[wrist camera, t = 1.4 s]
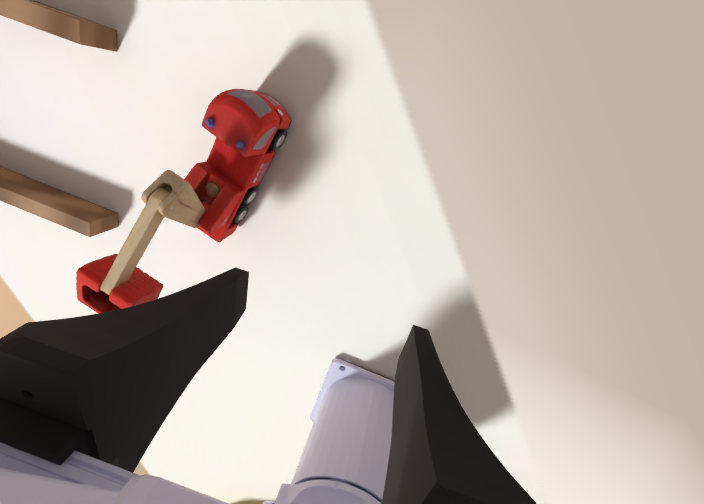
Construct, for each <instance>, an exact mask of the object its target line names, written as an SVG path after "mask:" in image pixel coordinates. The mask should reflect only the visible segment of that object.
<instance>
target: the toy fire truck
mask: <svg viewBox="0 0 704 504" xmlns="http://www.w3.org/2000/svg"><path fill="white" fill-rule="evenodd" d="M290 122H291V118H290V117H289V115H288V114H287V112H286V111H285V109H284V108H283V107H282V106H281V105H280V104H279V103H278V102H277V101H276V100H274V99H273V98H272V97H270V96H268V95H266V94H264V93H261V92H258V91H253V90H244V89H232V90H228V91H225V92H222V93H221V94H219V95H217V96H216V97H215V98H214V99H213V100H212V102H211V103H210V104H209V106H208V109H207V111H206V114H205V117H204V119H203V122H202V126H203V127H204V128H205V129H207V130H208V131H209V132H211V133H212V134H213V135H215V136H216V140H215V143H214V146H213V148H212V150H211V153H210V155H209V157H208V160H207V162H202V163H197V164H196V165H195V166H194V167H193V168H192V169H191V171H190V172H189V174H188V175H187V177H186V178H185V179H183V178H181V177H180V176H178V175H177V174H175V173H174V172H173V171H171V170H167V171H165V172H164V173H163V174H162V175H161V176H160V177H159V178H158V179H157V180H155V181H154V182H153V183H152V184H151V185H150V186H149V187H148V188H147V189H146V190H145V191H144V192H143V194H142V197H141V198H142V200H143V201H144V203H146V206H145V208H144V209H143V211H142V212H141V214H140V216H139V218H138V220H137V222H136V223H135V225H134V227H133V228H132V230H131V232H130V234H129V236H128V237H127V239H126V241H125V243H124V245H123V247H122V249H121V250H120V252H119V254H114V255H111V256H107V257H104V258H102V259H99V260H95V261H92V262H90V263H88V264H86V265H84V266H82V267H81V268H79V269H78V271H77V272H76V273H77V276H76V277H77V278H76V279H77V283H76V285H77V289H76V290H77V298H78V300H79V301H80V302H82V303H83V304H85V305H86V306H88V307H90V308H91V309H93V310H94V311H96V312H97V313H104V312H109V311H114V310H118V309H122V308H127V307H131V306H135V305H139V304H143V303H146V302H150V301H153V300H156V299H158V297H159V294H160V292H161V290H162V288H163V284H161V283H159V282H158V281H157V280H155V279H153V278H152V277H150V276H149V275H148V274H147V273H144V272H143V271H142V270H140V269H139V268H137V267H136V265H137V264H138V262H139V260H140V258H141V257H142V255H143V253H144V251H145V250H146V248H147V246H148V244H149V243H150V241H151V239H152V237H153V236H154V234H155V232H156V230H157V228H158V227H159V225H160V223H161V221H162V220H163V218H164V217H166V218H169V219H172V220H175V221H177V222H180V223H183V224H185V225H188V226H191V227H193V228H198V229H200V230H201V231H202V232H204V233H206V234H207V235H208V236H210V237H211V238H212V239H214V240H215V241H217V242H221V241H222V240H223V239H225V238H226V237H228V236H229V235H231V234H233V232H234V231H235V230H236V228H237V225H238V224H237V223H238V222H240V221H241V220H242V219H243V218H244V217H245V215H246V213H247V211H248V208H247V207H246V206H245V205H247V204H249V203H251V202H252V201H253V199H254V198H255V196H256V195H257V192H258V190H257V188H255V186H256V185H259V183H260V182H261V180H262V178H263V176H264V174H265V172H266V170H267V168H268V166H269V165H270V163H271V160H272V158H273V157H274V154H275V152H274V150H276V149H278V148H279V147H280V146H281V145H282V143H283V142H284V140H285V138H286V134H287V133H286V131H285V129H286V128H288V127H289V125H290ZM241 202H242V203H243V204H242V203H241ZM244 204H245V205H244Z"/></svg>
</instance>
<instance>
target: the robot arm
mask: <svg viewBox="0 0 704 504" xmlns="http://www.w3.org/2000/svg"><path fill="white" fill-rule="evenodd" d="M248 277H249V272H247V271H244V270H241V269H238V268H234V269H231V270H229V271H227V272H224V273H222V274H220V275H217V276H215V277H213V278H211V279H208V280H206V281H204V282H201V283H199V284H197V285H194V286H192V287H189V288H187V289H184V290H181V291H179V292H176V293H174V294H171V295H168V296H165V297H162V298H159V299H156V300H153V301H150V302H146V303H143V304H139V305H135V306H131V307H127V308H122V309H118V310H114V311H109V312H104V313H99V314H94V315H88V316H81V317H75V318H67V319H59V320H49V321H40V322H29V323H26V324H24V325H23V326H21V327H19V328H18V329H16V330H14V331H12V332H11V333H9V334H8V335H6V336H4V337H2V338H1V339H0V504H228V503H225V502H223V501H220V500H218V499H215V498H212V497H210V496H207V495H205V494H202V493H199V492H197V491H194V490H191V489H189V488H186V487H184V486H181V485H178V484H176V483H173V482H171V481H168V480H165V479H163V478H159V477H155V476H151V475H141V476H140V475H137V474H135V473H133V472H134V470H135V468H136V467H137V465H138V463H139V461H140V460H141V458H142V456H143V455H144V453H145V451H146V449H147V448H148V446H149V444H150V443H151V441H152V440H153V438H154V436H155V435H156V433H157V431H158V430H159V428H160V427H161V425H162V423H163V422H164V420H165V419H166V417H167V416H168V414H169V412H170V411H171V409H172V408H173V406H174V405H175V403H176V402H177V400H178V399H179V397H180V396H181V394H182V393H183V391H184V390H185V388H186V387H187V385H188V384H189V383H190V381H191V380H192V378H193V377H194V376H195V374H196V373H197V372H198V370H199V369H200V368H201V367H202V365H203V364H204V363H205V362H206V361H207V360H208V358H209V357H210V356H211V355H212V354H213V352H214V351H215V350H216V349H217V348H218V346H219V345H220V344H221V343H222V342H223V340H224V339H225V338H226V337H227V336H228V334H229V333H230V332H231V331H232V330H233V328H234V327H235V325H236V324H237V322H238V321H239V319H240V318H241V316H242V314H243V313H244V311H245V309H246V300H247V289H248ZM341 366H344V367H345V368H343V367H341ZM310 419H311V420H312V421H313V422H314V423H313V426H312V428H311V431H310V434H309V437H308V439H307V442H306V445H305V447H304V450H303V453H302V456H301V458H300V461H299V464H298V466H297V469H296V472H295V475H294V477H293V480H292V483H291V484H282V486H281V488H280V491H279V493H278V496H277V498H276V501H275V502H274V501H270V500H267V501H264V502H263V503H262V504H536V502H535V501H534V500H533V499H532V498H531V497H530V496H529V494H528V493H527V492H526V491H525V490H524V489H523V488H522V487H521V486H520V484H519V483H518V482H517V481H516V480H515V479H514V478H513V477H512V476H511V474H510V473H509V472H508V471H507V470H506V468H505V467H504V466H503V465H502V463H501V462H500V461H499V460H498V459H497V457H496V456H495V455H494V453H493V452H492V451H491V449H490V448H489V447H488V446H487V444H486V443H485V441H484V440H483V438H482V437H481V436H480V434H479V433H478V431H477V430H476V429H475V427H474V426H473V424H472V422H471V421H470V419H469V418H468V416H467V415H466V413H465V411H464V410H463V408H462V406H461V404H460V403H459V401H458V399H457V397H456V395H455V393H454V391H453V389H452V387H451V385H450V383H449V381H448V379H447V377H446V374H445V372H444V370H443V367H442V365H441V363H440V360H439V358H438V355H437V353H436V350H435V347H434V344H433V342H432V339H431V336H430V333H429V331H428V330H427V329H424V328H421V327H418V326H415V325H413V327H412V329H411V332H410V334H409V336H408V339H407V341H406V343H405V346H404V348H403V350H402V353H401V355H400V357H399V360H398V365H397V371H396V377H395V382H394V381H392V380H389V379H387V378H384V377H382V376H379V375H377V374H375V373H372V372H370V371H367V370H365V369H362V368H360V367H358V366H355V365H353V364H350V363H348V362H345V361H343V360H341V359H337V358H336V359H333V360H332V363H331V365H330V368H329V370H328V373H327V375H326V378H325V380H324V383H323V386H322V388H321V391H320V393H319V396H318V398H317V401H316V404H315V406H314V409H313V411H312V414H311V416H310Z"/></svg>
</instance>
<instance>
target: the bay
mask: <svg viewBox="0 0 704 504" xmlns="http://www.w3.org/2000/svg"><path fill="white" fill-rule="evenodd" d="M0 15H2V16H5V17H7V18H10V19H13V20H16V21H18V22H21V23H24V24H27V25H29V26H32V27H35V28H37V29H40V30H43V31H46V32H48V33H51V34H54V35H57V36H59V37H62V38H65V39H67V40H70V41H73V42H76V43H78V44H82V45H87V46H92V47H97V48H102V49H107V50H112V51H117V31H116V30H113V29H111V28H108V27H105V26H102V25H100V24H97V23H94V22H91V21H89V20H86V19H83V18H80V17H77V16H75V15H72V14H69V13H66V12H64V11H61V10H58V9H55V8H53V7H50V6H47V5H44V4H41V3H39V2H36V1H33V0H0ZM0 201H3V202H5V203H8V204H10V205H13V206H15V207H18V208H20V209H23V210H25V211H27V212H30V213H32V214H35V215H37V216H40V217H42V218H45V219H47V220H50V221H52V222H54V223H57V224H59V225H62V226H64V227H67V228H69V229H72V230H74V231H77V232H79V233H81V234H84V235H86V236H89V237H91V236H94V235H97V234H99V233H102V232H105V231H108V230H110V229H113V228H116V227H118V213H115V212H113V211H110V210H108V209H105V208H103V207H100V206H98V205H95V204H93V203H90V202H88V201H85V200H83V199H80V198H78V197H75V196H73V195H70V194H68V193H65V192H63V191H60V190H58V189H55V188H53V187H50V186H48V185H45V184H43V183H40V182H38V181H35V180H33V179H30V178H28V177H25V176H23V175H20V174H18V173H15V172H13V171H10V170H8V169H5V168H3V167H0Z"/></svg>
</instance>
